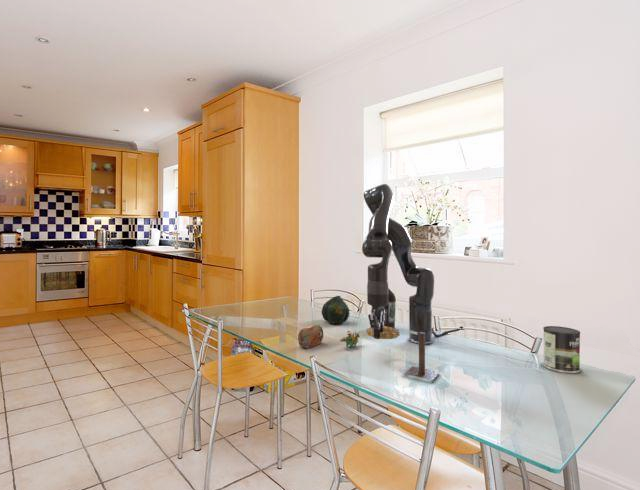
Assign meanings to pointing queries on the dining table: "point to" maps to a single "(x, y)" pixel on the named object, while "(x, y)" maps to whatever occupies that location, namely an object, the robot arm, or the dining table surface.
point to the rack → (422, 362)
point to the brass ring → (389, 333)
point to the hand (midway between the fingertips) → (378, 337)
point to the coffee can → (562, 349)
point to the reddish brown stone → (310, 336)
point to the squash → (335, 310)
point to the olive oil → (390, 310)
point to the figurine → (351, 339)
